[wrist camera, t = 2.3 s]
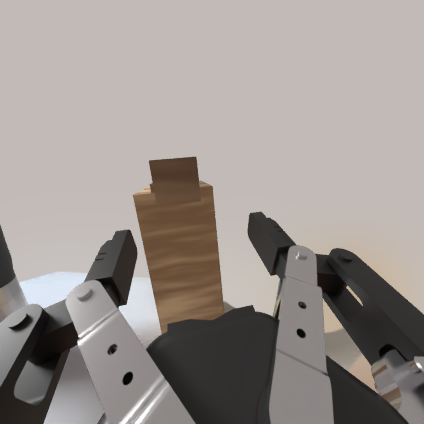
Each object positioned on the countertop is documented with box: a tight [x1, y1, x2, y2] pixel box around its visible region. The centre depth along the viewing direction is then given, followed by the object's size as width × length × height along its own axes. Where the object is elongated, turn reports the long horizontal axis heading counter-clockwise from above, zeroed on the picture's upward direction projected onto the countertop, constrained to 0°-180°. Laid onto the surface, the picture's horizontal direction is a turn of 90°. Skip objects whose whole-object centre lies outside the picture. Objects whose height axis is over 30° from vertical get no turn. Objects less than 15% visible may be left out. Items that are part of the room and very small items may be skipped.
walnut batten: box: [149, 157, 201, 207], centre depth 26 cm, size 26×4×4 cm, turn 13°
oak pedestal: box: [133, 181, 224, 334], centre depth 35 cm, size 14×11×33 cm
